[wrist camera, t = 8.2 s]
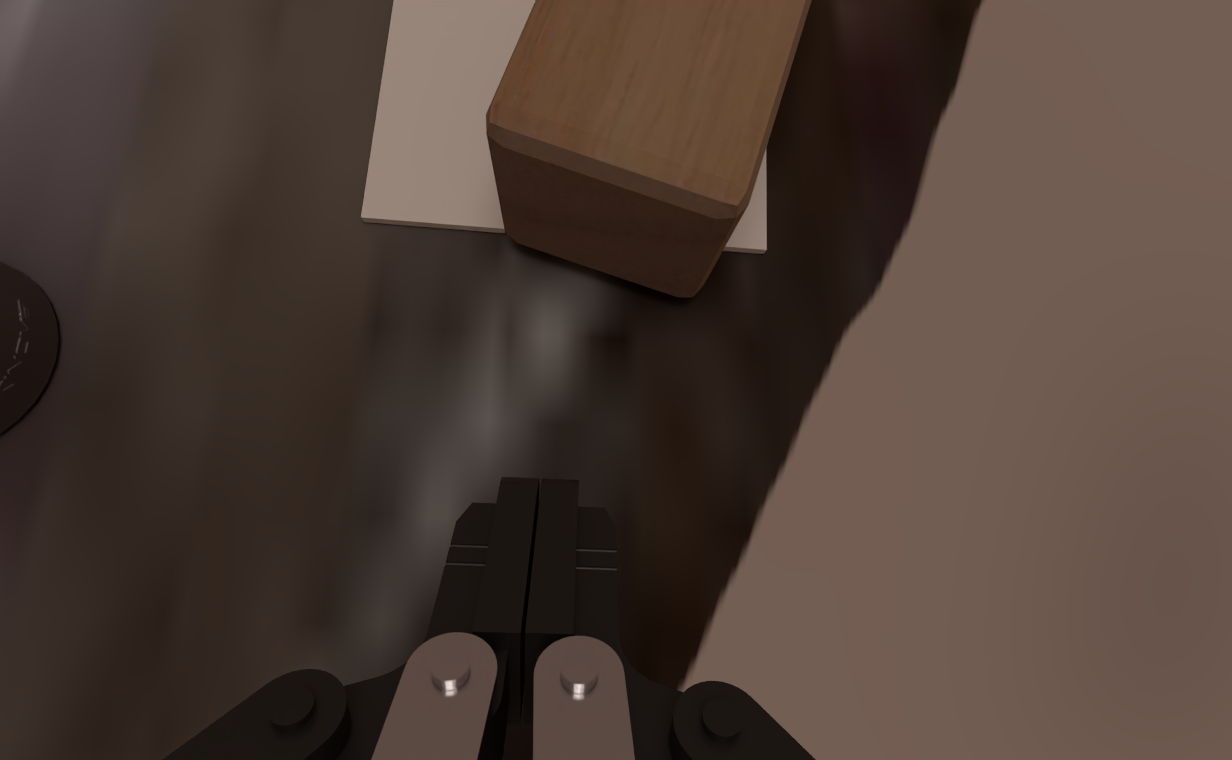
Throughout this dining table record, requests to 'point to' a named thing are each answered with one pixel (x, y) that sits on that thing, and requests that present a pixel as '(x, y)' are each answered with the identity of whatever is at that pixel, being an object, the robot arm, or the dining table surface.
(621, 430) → the dining table surface
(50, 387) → the dining table surface
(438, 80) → the pale grey mat
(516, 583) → the robot arm
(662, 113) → the wooden block
